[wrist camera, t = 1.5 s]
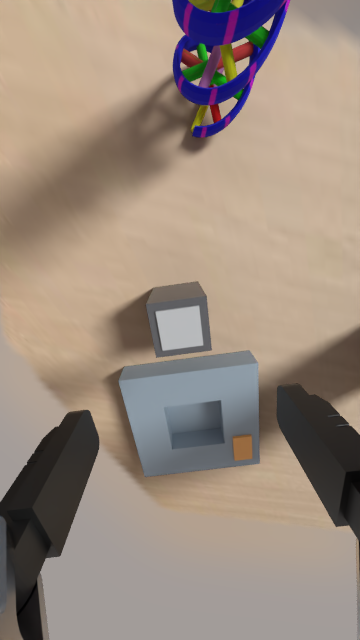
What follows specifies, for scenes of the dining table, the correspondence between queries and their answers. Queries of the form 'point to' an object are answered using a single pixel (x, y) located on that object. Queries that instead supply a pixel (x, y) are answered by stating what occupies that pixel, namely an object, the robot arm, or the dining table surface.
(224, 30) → the dna model
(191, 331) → the plug
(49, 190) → the dining table surface
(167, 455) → the socket plate
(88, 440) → the robot arm
